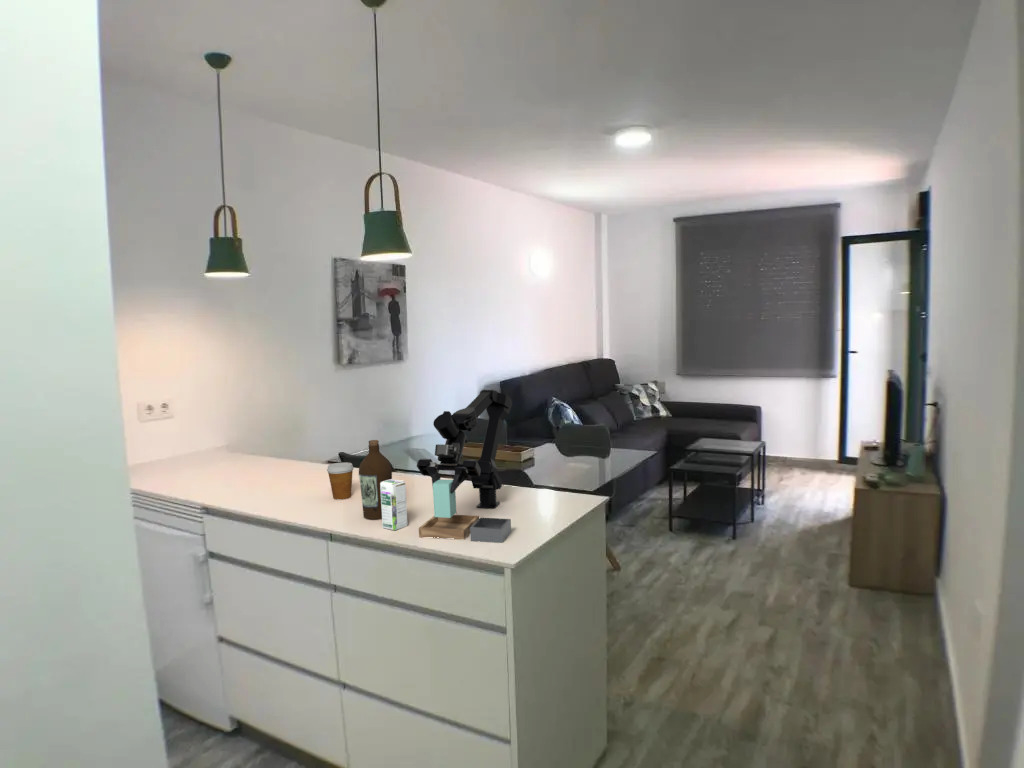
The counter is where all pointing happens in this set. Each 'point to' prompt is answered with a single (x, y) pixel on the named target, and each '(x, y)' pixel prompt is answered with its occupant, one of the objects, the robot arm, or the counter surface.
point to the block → (444, 499)
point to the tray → (448, 527)
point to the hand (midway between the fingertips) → (442, 492)
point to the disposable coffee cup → (340, 479)
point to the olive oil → (373, 480)
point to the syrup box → (393, 504)
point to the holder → (490, 530)
